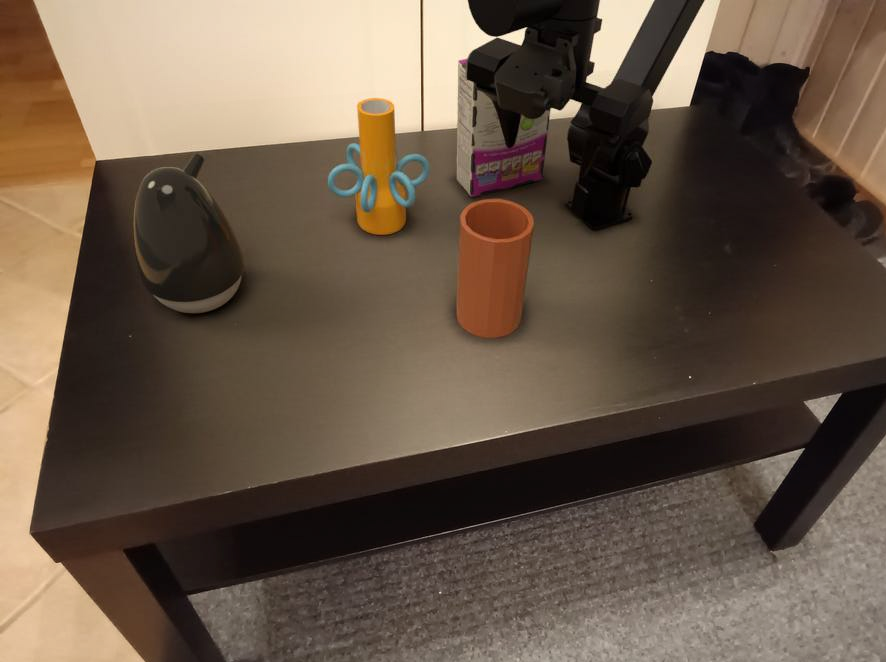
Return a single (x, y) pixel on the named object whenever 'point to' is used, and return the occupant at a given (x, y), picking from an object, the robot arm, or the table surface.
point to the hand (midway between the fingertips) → (545, 161)
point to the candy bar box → (494, 144)
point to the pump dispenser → (184, 241)
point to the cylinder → (379, 171)
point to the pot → (492, 266)
